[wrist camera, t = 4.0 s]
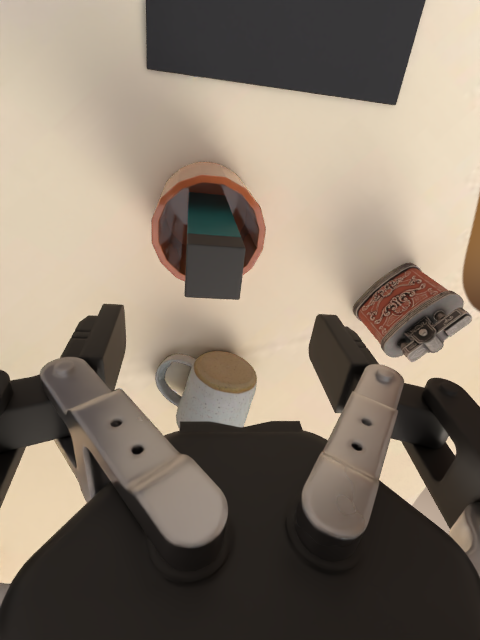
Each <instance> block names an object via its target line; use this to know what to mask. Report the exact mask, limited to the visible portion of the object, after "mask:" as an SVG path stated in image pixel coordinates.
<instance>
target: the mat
mask: <svg viewBox="0 0 480 640" xmlns="http://www.w3.org/2000/svg"><path fill="white" fill-rule="evenodd" d="M424 4H425V0H146V33H147V69H151V70H157V71H164V72H171V73H178V74H185V75H192V76H199V77H206V78H212V79H219V80H226V81H233V82H240V83H247V84H254V85H260V86H267V87H274V88H281V89H288V90H295V91H302V92H309V93H315V94H322V95H329V96H336V97H343V98H350V99H357V100H364V101H370V102H377V103H384V104H391V105H396V102H397V99H398V95H399V92H400V88H401V85H402V81H403V77H404V74H405V70H406V67H407V63H408V60H409V56H410V53H411V49H412V46H413V42H414V39H415V35H416V32H417V28H418V25H419V21H420V18H421V14H422V11H423V7H424Z"/></svg>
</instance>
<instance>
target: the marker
mask: <svg viewBox="0 0 480 640" xmlns="http://www.w3.org/2000/svg"><path fill="white" fill-rule="evenodd" d="M245 251H246V248H245V246H244V243H243V240H242V238H241V235H240V232H239V230H238V227H237V225H236V222H235V220H234V217H233V214H232V212H231V209H230V207H229V204H228V201H227V199H226V196H225V195H215V194H205V193H194V192H189V200H188V224H187V248H186V273H185V297H194V298H215V299H235V300H238V299H239V298H240V291H241V283H242V275H243V267H244V259H245Z"/></svg>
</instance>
